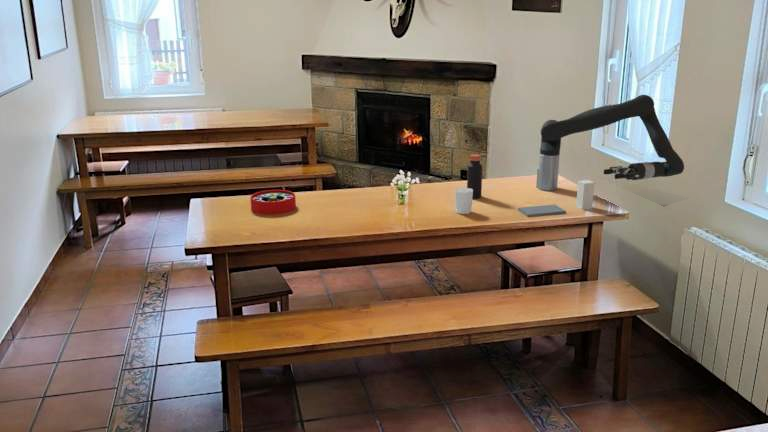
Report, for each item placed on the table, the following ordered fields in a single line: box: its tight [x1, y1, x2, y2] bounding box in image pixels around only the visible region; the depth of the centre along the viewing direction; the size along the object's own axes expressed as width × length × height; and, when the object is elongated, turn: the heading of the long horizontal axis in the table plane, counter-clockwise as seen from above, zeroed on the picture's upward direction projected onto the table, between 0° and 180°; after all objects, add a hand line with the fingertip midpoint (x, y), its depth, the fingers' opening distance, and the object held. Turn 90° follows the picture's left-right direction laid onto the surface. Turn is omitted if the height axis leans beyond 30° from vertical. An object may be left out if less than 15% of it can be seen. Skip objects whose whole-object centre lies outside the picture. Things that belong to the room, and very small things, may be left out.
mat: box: [517, 204, 567, 218], centre depth 302 cm, size 18×10×1 cm, turn 104°
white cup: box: [454, 187, 473, 215], centre depth 301 cm, size 8×8×10 cm
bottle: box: [466, 153, 483, 200], centre depth 321 cm, size 7×7×20 cm
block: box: [575, 179, 595, 211], centre depth 305 cm, size 5×5×12 cm
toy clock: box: [250, 189, 297, 215], centre depth 311 cm, size 20×6×20 cm
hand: (609, 174), depth 305 cm, fingers open, 8 cm apart
